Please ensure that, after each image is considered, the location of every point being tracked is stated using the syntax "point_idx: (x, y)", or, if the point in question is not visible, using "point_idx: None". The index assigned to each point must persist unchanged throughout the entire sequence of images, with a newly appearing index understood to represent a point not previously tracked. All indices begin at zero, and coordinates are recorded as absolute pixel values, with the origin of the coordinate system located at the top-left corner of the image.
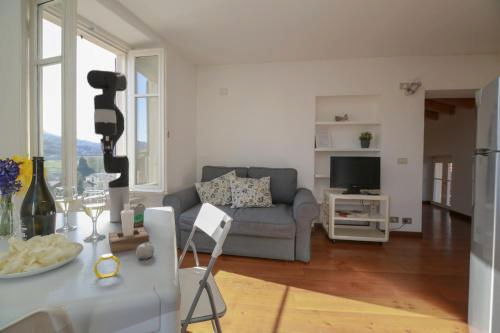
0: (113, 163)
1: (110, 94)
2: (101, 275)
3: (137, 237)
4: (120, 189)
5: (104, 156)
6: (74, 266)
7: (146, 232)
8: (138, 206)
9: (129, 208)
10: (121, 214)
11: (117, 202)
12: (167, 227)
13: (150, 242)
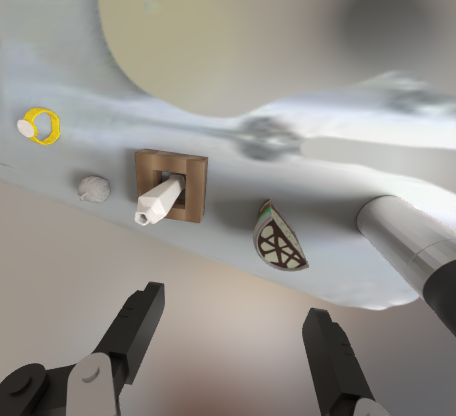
0: None
1: None
2: (53, 117)
3: (138, 196)
4: (419, 274)
5: (124, 326)
6: (117, 84)
7: None
8: (295, 259)
9: (144, 217)
10: (150, 195)
11: (394, 236)
12: (230, 260)
13: (81, 200)
